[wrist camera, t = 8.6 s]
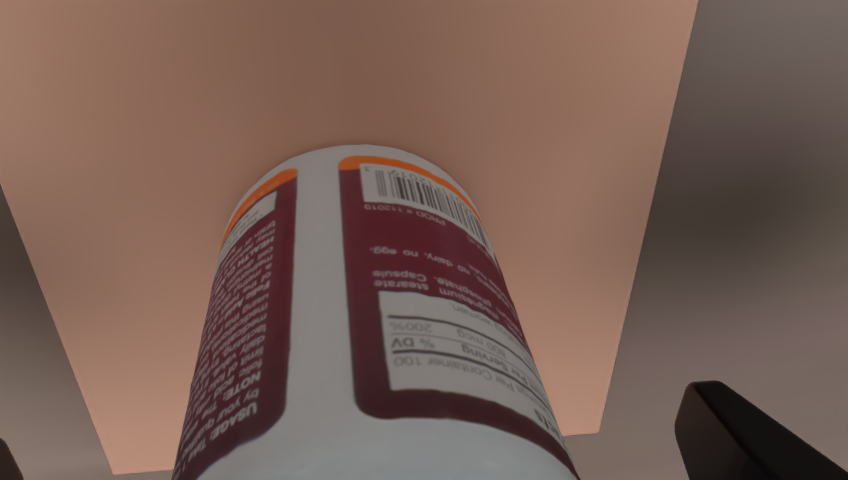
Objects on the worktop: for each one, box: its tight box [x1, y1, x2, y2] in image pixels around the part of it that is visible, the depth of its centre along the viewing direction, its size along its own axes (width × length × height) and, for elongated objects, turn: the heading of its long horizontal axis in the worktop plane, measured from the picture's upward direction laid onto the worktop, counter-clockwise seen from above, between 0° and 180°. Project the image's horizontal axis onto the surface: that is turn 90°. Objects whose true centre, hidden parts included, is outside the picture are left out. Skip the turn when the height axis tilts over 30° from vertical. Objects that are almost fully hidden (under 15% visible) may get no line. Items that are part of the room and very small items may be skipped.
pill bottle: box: [171, 144, 580, 480], centre depth 9 cm, size 5×5×8 cm
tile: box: [0, 0, 699, 475], centre depth 12 cm, size 11×11×1 cm
